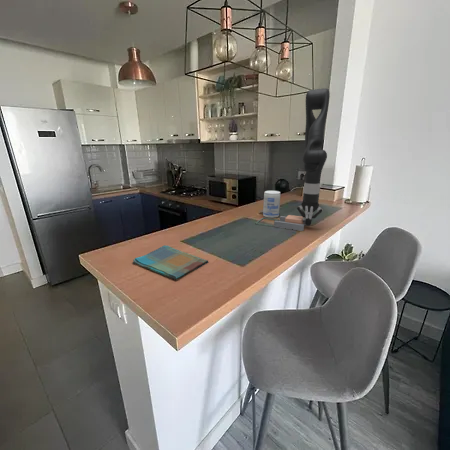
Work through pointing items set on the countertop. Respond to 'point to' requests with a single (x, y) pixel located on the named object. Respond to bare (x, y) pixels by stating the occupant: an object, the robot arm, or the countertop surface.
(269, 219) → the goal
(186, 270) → the dish towel
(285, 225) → the chute
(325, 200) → the countertop surface
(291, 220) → the block
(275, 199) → the supplement tub
